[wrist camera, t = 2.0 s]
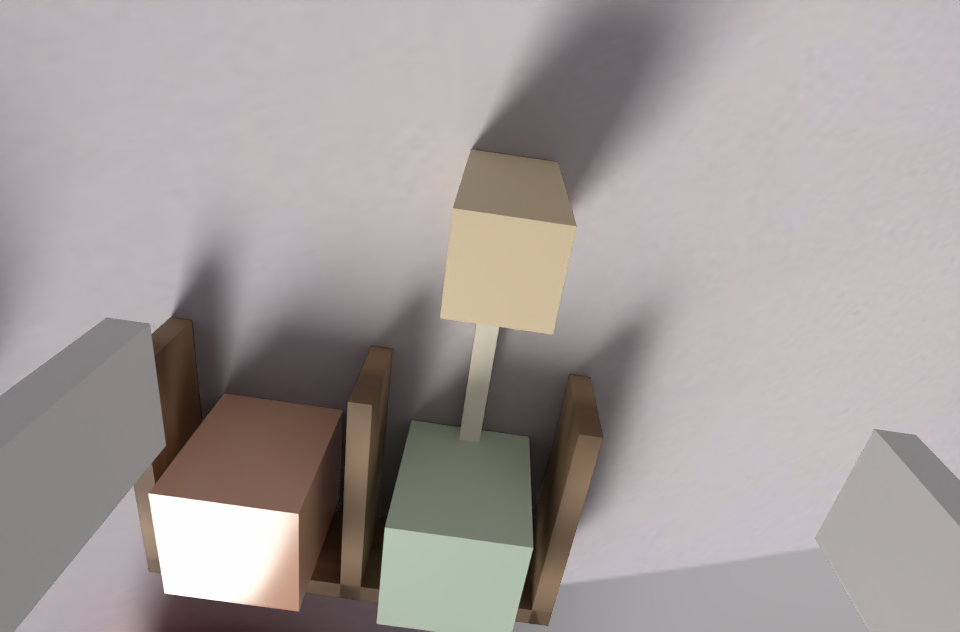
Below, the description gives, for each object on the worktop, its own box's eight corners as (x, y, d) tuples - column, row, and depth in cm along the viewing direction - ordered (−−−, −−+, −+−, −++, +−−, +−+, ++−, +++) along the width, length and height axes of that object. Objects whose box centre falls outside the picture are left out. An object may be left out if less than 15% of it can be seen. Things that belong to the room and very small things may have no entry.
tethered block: (440, 144, 24) (408, 201, 16) (588, 166, 24) (620, 233, 17) (402, 507, 33) (371, 645, 26) (510, 522, 33) (509, 663, 26)
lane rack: (170, 317, 28) (113, 368, 24) (590, 377, 28) (602, 437, 24) (192, 504, 33) (149, 571, 29) (543, 553, 34) (548, 625, 30)
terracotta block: (224, 392, 30) (148, 493, 24) (343, 409, 30) (298, 513, 24) (231, 482, 33) (164, 593, 26) (339, 497, 33) (299, 611, 26)
